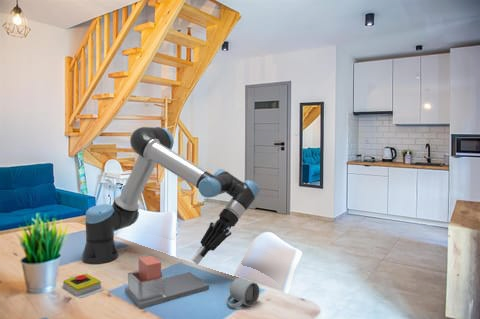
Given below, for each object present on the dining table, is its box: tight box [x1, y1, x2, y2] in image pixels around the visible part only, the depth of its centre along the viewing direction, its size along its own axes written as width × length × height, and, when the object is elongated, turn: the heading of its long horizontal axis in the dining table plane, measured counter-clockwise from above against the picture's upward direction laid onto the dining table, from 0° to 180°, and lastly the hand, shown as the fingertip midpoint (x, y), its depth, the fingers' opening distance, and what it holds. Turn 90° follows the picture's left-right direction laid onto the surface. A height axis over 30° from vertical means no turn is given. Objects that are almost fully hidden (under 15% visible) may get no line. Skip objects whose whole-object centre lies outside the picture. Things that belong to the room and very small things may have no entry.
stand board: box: [124, 271, 210, 310], centre depth 130 cm, size 15×26×2 cm, turn 126°
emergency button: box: [61, 273, 105, 299], centre depth 131 cm, size 9×4×15 cm
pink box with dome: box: [138, 255, 163, 282], centre depth 126 cm, size 8×6×11 cm
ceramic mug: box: [226, 277, 260, 309], centre depth 121 cm, size 11×8×8 cm
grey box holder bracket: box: [127, 270, 166, 302], centre depth 125 cm, size 11×9×6 cm
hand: (194, 262), depth 136 cm, fingers closed
